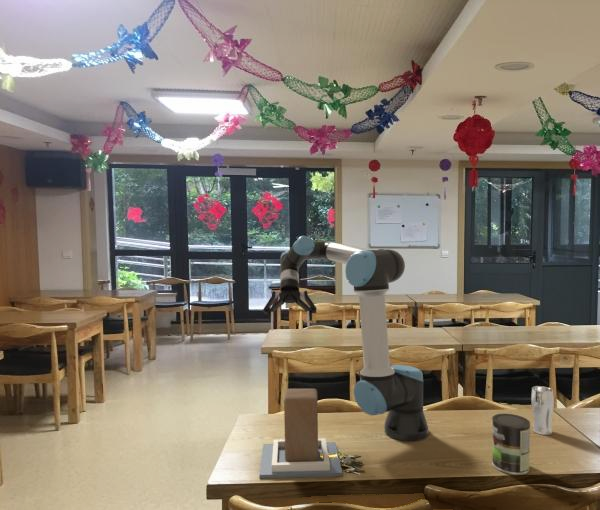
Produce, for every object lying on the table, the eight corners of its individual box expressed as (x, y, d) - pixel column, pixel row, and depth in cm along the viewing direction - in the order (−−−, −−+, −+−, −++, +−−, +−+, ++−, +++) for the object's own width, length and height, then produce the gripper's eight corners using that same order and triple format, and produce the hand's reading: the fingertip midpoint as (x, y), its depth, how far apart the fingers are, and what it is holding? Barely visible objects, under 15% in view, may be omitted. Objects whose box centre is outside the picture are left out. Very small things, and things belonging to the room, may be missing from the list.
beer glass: (532, 433, 160) (532, 391, 159) (530, 426, 166) (530, 385, 166) (554, 436, 157) (555, 393, 157) (552, 428, 164) (552, 387, 163)
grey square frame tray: (335, 444, 154) (335, 436, 154) (342, 476, 134) (342, 465, 134) (263, 446, 153) (263, 437, 153) (259, 478, 133) (259, 468, 133)
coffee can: (503, 476, 132) (503, 427, 132) (485, 459, 143) (485, 414, 142) (537, 474, 133) (537, 426, 133) (517, 457, 144) (517, 412, 143)
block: (318, 463, 139) (317, 398, 138) (285, 463, 140) (283, 398, 139) (318, 448, 149) (317, 387, 148) (287, 448, 150) (286, 387, 149)
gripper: (320, 288, 189) (323, 332, 175) (259, 289, 189) (257, 334, 174) (320, 276, 184) (324, 321, 169) (258, 278, 183) (256, 322, 169)
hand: (290, 327), depth 172 cm, fingers open, 13 cm apart
